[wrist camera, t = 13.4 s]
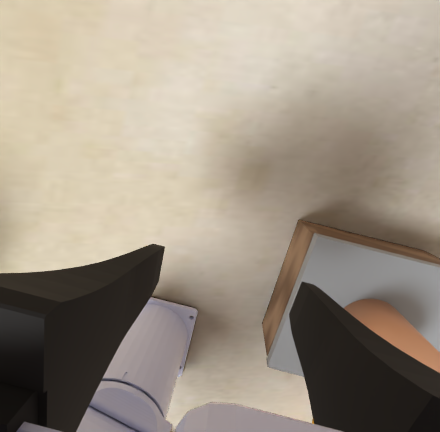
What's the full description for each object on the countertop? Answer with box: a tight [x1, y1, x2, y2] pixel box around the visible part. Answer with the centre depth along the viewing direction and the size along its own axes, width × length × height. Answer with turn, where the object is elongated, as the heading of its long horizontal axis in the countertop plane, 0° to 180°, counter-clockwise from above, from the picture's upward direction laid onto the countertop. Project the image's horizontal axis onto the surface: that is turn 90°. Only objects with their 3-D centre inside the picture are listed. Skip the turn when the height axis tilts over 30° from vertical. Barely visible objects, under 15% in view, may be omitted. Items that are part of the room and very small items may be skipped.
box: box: [262, 220, 440, 356], centre depth 21 cm, size 12×12×4 cm
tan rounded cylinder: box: [344, 299, 440, 373], centre depth 16 cm, size 5×5×4 cm
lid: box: [267, 233, 440, 377], centre depth 18 cm, size 12×12×1 cm
